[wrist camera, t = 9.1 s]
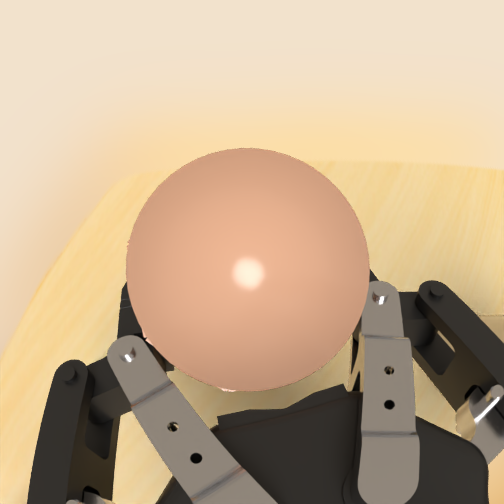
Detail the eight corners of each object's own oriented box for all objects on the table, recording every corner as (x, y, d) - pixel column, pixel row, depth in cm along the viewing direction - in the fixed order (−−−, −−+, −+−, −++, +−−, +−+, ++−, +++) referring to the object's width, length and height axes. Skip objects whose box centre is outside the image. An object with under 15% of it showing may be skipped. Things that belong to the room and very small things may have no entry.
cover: (275, 221, 18) (334, 136, 8) (299, 327, 17) (389, 353, 8) (169, 243, 17) (113, 173, 8) (191, 351, 17) (156, 411, 7)
